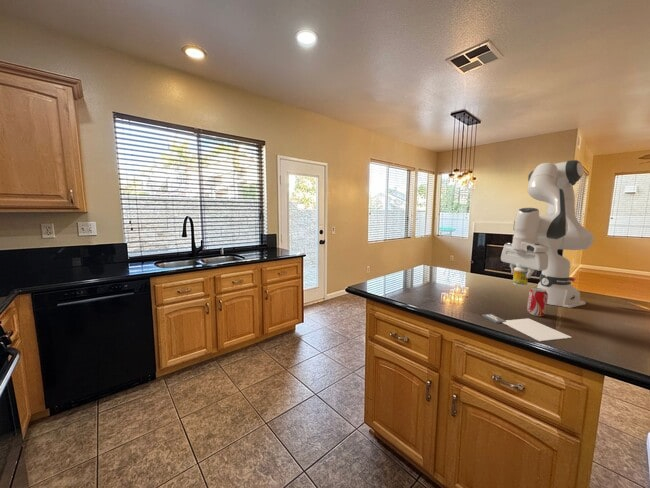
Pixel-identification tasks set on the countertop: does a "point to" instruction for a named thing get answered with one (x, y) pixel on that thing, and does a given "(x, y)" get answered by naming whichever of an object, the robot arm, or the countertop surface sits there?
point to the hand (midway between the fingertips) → (520, 275)
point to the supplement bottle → (520, 275)
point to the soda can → (537, 302)
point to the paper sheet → (535, 330)
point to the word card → (493, 318)
